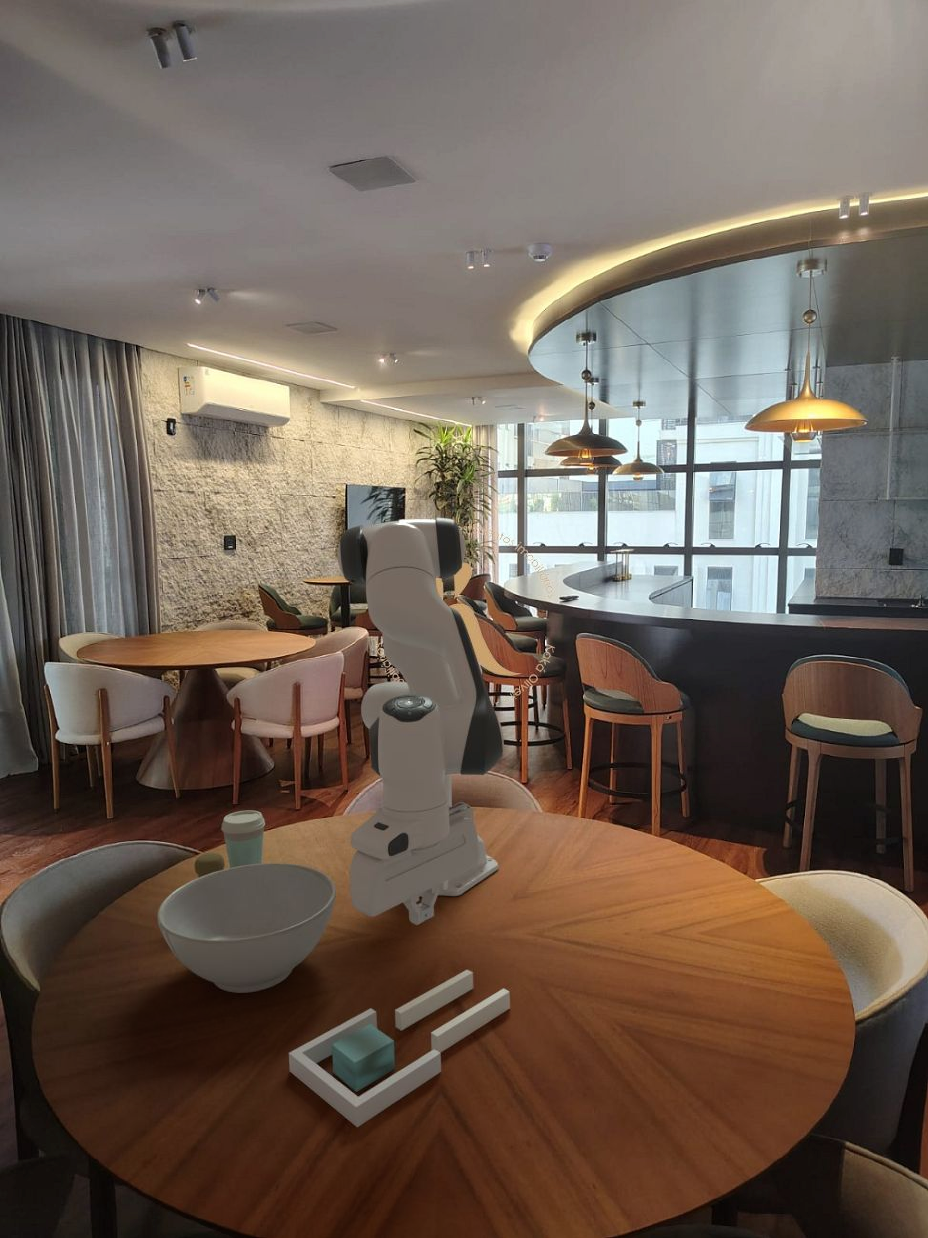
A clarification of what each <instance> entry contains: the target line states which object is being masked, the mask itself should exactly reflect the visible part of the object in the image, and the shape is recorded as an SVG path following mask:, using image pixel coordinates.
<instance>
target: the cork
mask: <svg viewBox="0 0 928 1238" xmlns="http://www.w3.org/2000/svg"><path fill="white" fill-rule="evenodd" d="M225 864H226V863H225V858H224V856H223V855H222V854H221V853H218V852H208V853H204V854H201V855H199V856H198V857H197V858H196V859H195V862H194V871H195V873H196V875H197V876H198V877H197V878H199V877H202V876H205V875H207V874H210V873H213V872H217V871H220V870H224V869H225Z"/></svg>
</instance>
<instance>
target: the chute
mask: <svg viewBox="0 0 928 1238" xmlns="http://www.w3.org/2000/svg"><path fill="white" fill-rule="evenodd" d="M473 989H474V972H473V971H472V970H470V969H465V970H464V971H462V972H459V973H458V974H456V975H455V976H453V977H451V978H449V979H447V980H446V981H444V982H442V983H440V984H439V985H437V986H436V987H435V986H434V987H433V988H432V989H430V990H428V991H426V992H425V993H423V994H421V995H419V996H418V997H416V998H413V999H412V1000H410V1001H408V1002H407V1003H405V1004H403V1005H402V1006H399V1007H398V1008H395V1009H394V1014H395V1015H394V1019H395V1028H396V1029H398V1030H400V1032H401V1031H403V1030H405V1029H407V1028H408V1027H410V1026H412V1025H413V1024H415V1023H417V1022H418V1021H420V1020H422V1019H424V1018H425V1017H427V1016H429V1015H430V1014H433V1013H434V1012H436V1011H437V1010H439V1009H441V1008H443V1007H444V1006H446V1005H447V1004H449V1003H451V1002H453V1001H455V1000H456V999H457V998H459V997H461V996H463V995H464V994H466V993H468V992H470V991H471V990H473ZM509 1009H511V995H510V991H509V990H507V989H506V988H502V989H500V990H499V991H497V992H496V993H494V994H492V995H490V996H489V997H486V998H485V999H484V1000H482V1001H481V1002H479V1003H477V1004H475V1005H474V1006H472V1007H470V1008H469V1009H467V1010H466V1011H464V1012H463V1013H461V1014H459V1015H457V1016H455V1018H454V1017H453V1019H451V1020H449V1021H448V1022H446V1023H444V1024H443V1025H441V1026H439V1027H437V1028H436V1029H435V1030H433V1031H431V1032H430V1039H431V1042H430V1043H431V1051H432V1050H433V1049H435V1050H436V1051H438V1052H439V1053H442V1052H444V1051H445V1050H447V1049H449V1048H450V1047H451V1046H453V1045H455V1044H456V1043H458V1042H460V1041H461V1040H463V1039H465V1038H466V1037H467V1036H469V1035H471V1034H472V1033H474V1032H475V1031H477V1030H479V1029H480V1028H481V1027H483V1026H485V1025H486V1024H488V1023H489V1022H491V1021H492V1020H493V1019H495V1018H496V1017H498V1016H501V1015H502V1014H503V1013H505V1012H506V1011H508V1010H509Z"/></svg>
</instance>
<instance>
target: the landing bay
mask: <svg viewBox="0 0 928 1238" xmlns="http://www.w3.org/2000/svg"><path fill="white" fill-rule="evenodd" d="M377 1019H378V1018H377V1011H376V1010H374V1009H373V1008H372V1007H371V1008H370V1007H369V1009H367V1010H364V1011H363V1012H361V1013H359V1014H357V1015H356V1016H354V1017H352V1018H350V1019H349V1020H347V1021H345V1022H343V1023H341V1024H340V1025H337V1026H335V1027H334V1028H332V1029H330V1030H329V1031H328V1030H327V1032H325V1033H323V1034H321V1035H319V1036H317V1037H316V1038H313V1039H312V1040H310V1041H308V1042H306V1043H305V1044H303V1045H301V1046H299V1047H297V1048H295V1049H294V1050H292V1051H290V1052H288V1063H289V1066H288V1068H289V1072H290V1073H291V1074H292V1075H294V1076H295V1078H297V1079H298V1080H299V1081H301V1082H302V1083H303V1084H304V1085H306V1086H307V1087H308V1088H309V1089H310V1090H312V1091H313V1092H314V1093H315V1094H316V1095H318V1096H319V1097H320V1098H321V1099H322V1100H324V1101H325V1102H326V1103H327V1104H329V1105H330V1106H331V1107H332V1108H333V1109H335V1110H336V1111H337V1112H338V1113H339V1114H341V1116H343V1118H345V1119H347V1120H348V1121H349V1122H351V1124H353V1125H354V1126H355V1128H359V1127H360V1126H362V1125H363V1124H365V1123H366V1122H368V1121H369V1120H371V1119H373V1118H374V1117H375V1116H377V1115H378V1114H379V1113H382V1112H383V1111H384V1110H385V1109H387V1108H388V1107H390V1106H391V1105H393V1104H395V1103H396V1102H398V1101H399V1100H401V1099H402V1098H403V1097H405V1096H407V1095H408V1094H410V1093H411V1092H413V1091H414V1090H416V1089H418V1088H419V1087H420V1086H422V1085H423V1084H425V1083H426V1082H428V1081H429V1080H431V1079H432V1078H434V1077H435V1076H437V1075H438V1074H441V1072H442V1062H441V1061H442V1058H441V1053H442V1052H441V1053H439V1052H438V1051H436V1050H435V1049H433V1050H432V1049H431V1051H429V1052H427V1053H426V1054H424V1055H422V1056H420V1057H419V1058H418V1059H416V1060H414V1061H413V1062H412V1063H410V1064H408V1065H406V1066H405V1067H404V1068H402V1069H400V1070H399V1071H397V1072H395V1073H394V1074H392V1075H391V1076H389V1077H388V1078H386V1079H384V1080H382V1081H381V1082H380V1083H378V1084H377V1085H375V1086H374V1087H372V1088H370V1089H368V1090H367V1091H366V1092H363V1093H362V1094H360V1095H359V1096H358V1095H357V1094H356V1093H354V1092H352V1091H351V1090H350V1089H349V1088H347V1086H345V1085H344V1084H342V1083H341V1082H340V1081H338V1080H337V1079H336V1078H335V1077H333V1075H331V1074H330V1073H328V1071H326V1070H325V1069H323V1068H322V1067H321V1066H319V1065H318V1063H320V1062H321V1061H323V1060H325V1059H327V1058H329V1057H330V1056H332V1044H334V1043H336V1042H337V1041H339V1040H341V1039H343V1038H345V1037H347V1036H349V1035H351V1034H352V1033H354V1032H356V1031H358V1030H360V1029H362V1028H364V1027H366V1026H367V1025H369V1024H371V1025H373V1026H374V1027H375V1028H377V1029H378V1021H377Z"/></svg>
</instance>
